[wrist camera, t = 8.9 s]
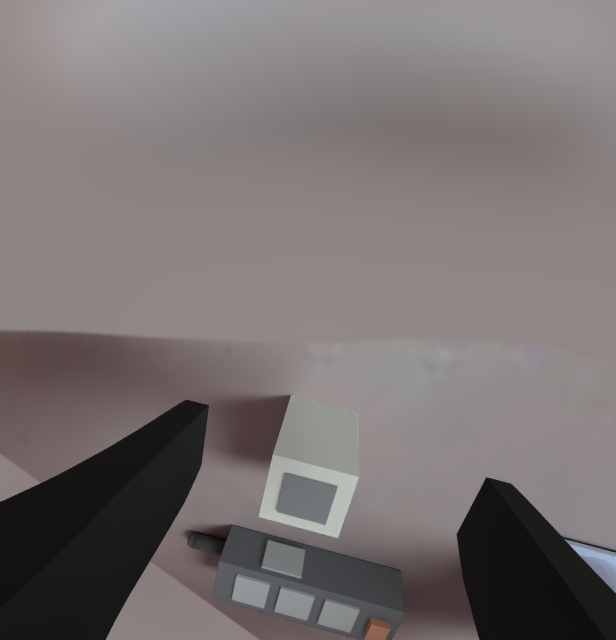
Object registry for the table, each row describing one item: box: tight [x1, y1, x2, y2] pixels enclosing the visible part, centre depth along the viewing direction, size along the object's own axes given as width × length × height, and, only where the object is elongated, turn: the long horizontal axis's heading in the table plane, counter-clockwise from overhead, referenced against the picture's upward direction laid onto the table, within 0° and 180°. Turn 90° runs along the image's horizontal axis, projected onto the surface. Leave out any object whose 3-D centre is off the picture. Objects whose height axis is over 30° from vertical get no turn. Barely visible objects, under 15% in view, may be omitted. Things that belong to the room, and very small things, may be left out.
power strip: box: [187, 525, 405, 640], centre depth 24 cm, size 15×4×3 cm, turn 78°
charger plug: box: [259, 395, 359, 538], centre depth 19 cm, size 4×4×5 cm
